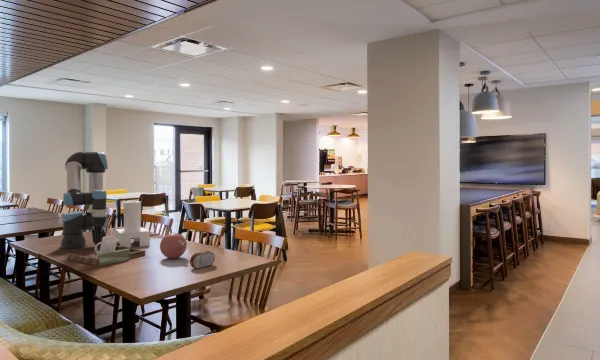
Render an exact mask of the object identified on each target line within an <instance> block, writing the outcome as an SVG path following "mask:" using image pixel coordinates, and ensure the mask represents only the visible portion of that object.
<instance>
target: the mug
mask: <svg viewBox="0 0 600 360" xmlns="http://www.w3.org/2000/svg"><path fill="white" fill-rule="evenodd" d="M99 244H101V247H100V252H97V251H96V247H97V246H98V245H99ZM117 244H118V243H117V238H116V236H113V235H106V236H105V237H103V238H102V242H100V243H98V244H97V245H94V252H96V253H97V254H99V255H100V254H105V253H110V252H115V248H116V246H117ZM96 253H95V254H96Z"/></svg>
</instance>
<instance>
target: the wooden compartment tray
mask: <svg viewBox="0 0 600 360" xmlns="http://www.w3.org/2000/svg"><path fill="white" fill-rule="evenodd" d="M94 252H95V251H94ZM66 254H67V256H66V258H67V260H71V261H76V262H81V263H85V264H90V265H94V266H99V267H102V266H107V265H110V264H115V263H118V262H119V263H120V262H123V261H127V260H130V259H134V258H139V257H143V256H146V250H145V249H139V248H134V247H124V246H120V245H116V248H115V252H110V253H105V254H100V255H98V256H97V258H94V257H89V256H85V255H80V254H76V253H70V252H69V253H66ZM95 254H96V252H95Z"/></svg>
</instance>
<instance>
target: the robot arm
mask: <svg viewBox="0 0 600 360" xmlns="http://www.w3.org/2000/svg"><path fill="white" fill-rule="evenodd" d="M108 169H109V167H108V160H107V155H106V153H105V152H100V151H78V152H75V153H73V154H71V155H70V156H69V157H68V158H67V159H66V160H65V166H64V170H65V171H66V192H65V193H63V196H62V197H63V199H62V200H63V205H64V206H69V207H72V206H73V207H75V206H76V207H77V206H88V209H87V210H86V213H84V212H83V211H71V212H68V213H65V214H64V215H63V217H62V218H63V219H62V223H63V225H62V227H63V230H62V233H63V236H62V239H61V242H60V248H61V249H68V250H69V249H79V248H84V247H86V246H87V242H86V241H87V240H86V239H85V236H84V231H91V239H92V243H93V244H94V246H96V245H97V244H98V243H100V242H102V238H103V237H105V236H107V235H106V234H107V232H108V228H106V227H107V225H108V212H107V197H108V196H107V195H108V194H107V190H104V174H105V173H106V170H108ZM82 170H85V173H87V174H88V192H82V181H81V180H82V179H81V177H82V176H81V175H82V174H81V171H82ZM100 247H101V244H99V245H98V246H97V247H96V251H97V252H100ZM98 255H99V254H97V253H95V257H98Z"/></svg>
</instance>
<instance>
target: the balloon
mask: <svg viewBox="0 0 600 360" xmlns="http://www.w3.org/2000/svg"><path fill="white" fill-rule="evenodd" d="M159 249H160V252H161V254H162V255H163V256H164V257H165V258H168V259H172V260H174V259H177V258H178V259H179V258H180V257H182V256H183V255H184V254H185V252H186V250H187V249H188V247H187V240H186V238H185V237H184V235H182V234H181V233H177V232H170V233H168V234H165V236H164V237H162V238H161V241H160V244H159Z"/></svg>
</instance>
